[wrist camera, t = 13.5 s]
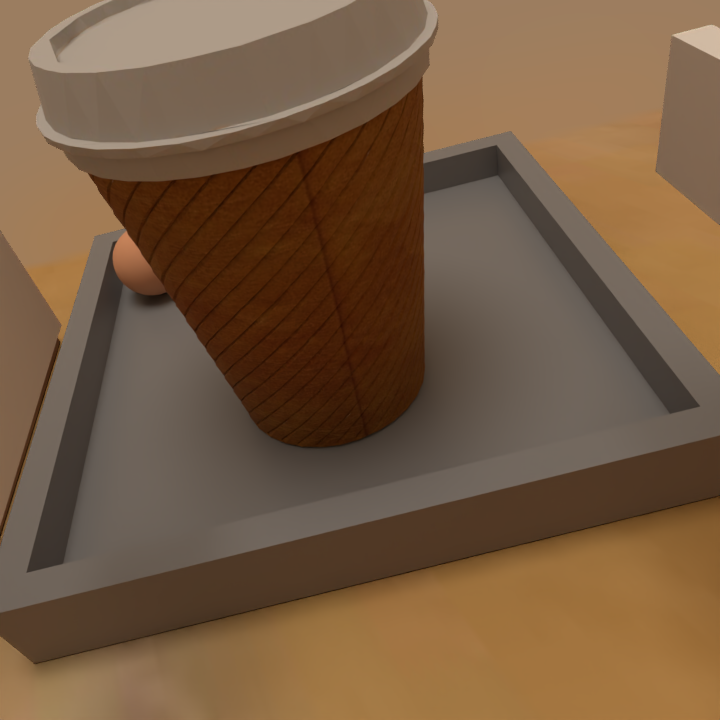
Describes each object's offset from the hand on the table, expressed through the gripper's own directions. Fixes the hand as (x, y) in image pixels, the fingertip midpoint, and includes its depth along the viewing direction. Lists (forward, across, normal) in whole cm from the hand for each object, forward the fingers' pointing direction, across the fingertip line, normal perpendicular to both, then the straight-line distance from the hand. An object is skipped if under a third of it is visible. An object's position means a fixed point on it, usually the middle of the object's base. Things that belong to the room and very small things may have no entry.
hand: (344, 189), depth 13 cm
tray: (+7, -1, -10) cm, 13 cm away
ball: (+13, -8, -9) cm, 18 cm away
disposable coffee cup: (+5, -2, -9) cm, 11 cm away
